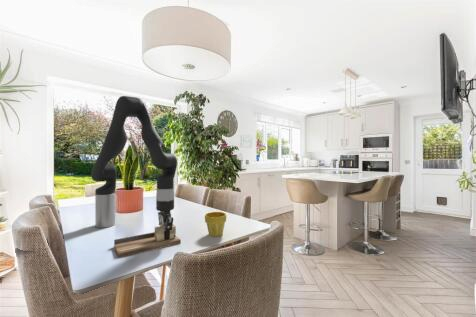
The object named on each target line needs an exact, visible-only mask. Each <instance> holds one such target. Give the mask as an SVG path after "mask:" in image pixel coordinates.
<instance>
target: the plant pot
mask: <svg viewBox="0 0 476 317" xmlns="http://www.w3.org/2000/svg"><path fill="white" fill-rule="evenodd" d="M204 222H205V223H206V226H207V231H208V236H210V237H220V236H222V235H223V234H224V228H225V223H226V222H227V214H226V213H225V212H223V211H211V212H207V213H205V214H204Z"/></svg>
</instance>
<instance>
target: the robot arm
mask: <svg viewBox="0 0 476 317" xmlns="http://www.w3.org/2000/svg"><path fill="white" fill-rule="evenodd" d="M127 118H136V119H138V121H139V123H140V125H141V133H140V134H141V138H142V141H143V142H144V145H145V146H146V148H147V150H148V151H149V155H150V159H151V163H152V164H153V166H154V167H155V168H156V169H157V170H162V172H161V174H159V175H158V176H157V177H156V178H157V179H156V195H155V196H156V197H155V199H156V200H155V203H156V204H155V205H156V206H155V207H156V208H155V209H156V211H157V216H158V226H164V239H165V240H167V239H170V230H172V226H173V225H174V217H172V213H171V211H172V210H174V209H175V189H174V188H175V187H174V186H175V183H174V182H175V181H174V180H175V175H176V170H177V168H178V167H177V166H178V159H177V157H176V155H175V154H174V153H170V152H168V153H167V152H164V151H163V150H164V148H165V143H164V141H163V140H162V138H161V136H160V135H159V134H158V132H157V130H156V128H155V125H154V124H153V121H152V119H151V116H150V113H149V111H148V109H147V106H146V105H145V103H144V101H143V100H142V99H141V98H139V97H136V96H135V97H134V96H128V95H122V96H119V97H118V99H117V100H116V103H115V106H114V110H113V114H112V120H111V122H110V125H109V128H108V130H107V134H106V136H105V139H104V141H103V142H102V143H103V144H102V147H101V149H100V153H99V154H98V155H97V156H98V157H97V158H96V160H95V161H94V164H93V166H92V169H91V173H90V174H91V179H92V180H93V181H94V182H98V183H99V182H105V183H104V184H103V185H102V186H99V187H97V188H96V189H95V193H94V194H95V195H94V196H95V198H94V199H95V202H94V203H95V206H94V207H95V210H94V211H95V222H94V223H95V228H97V229H99V228H100V229H103V228H109V227H112V226H115V225H116V189H117V173H118V172H117V166H116V165H115V164H114V163H110V161H112V160H114V159H115V158H116V157H117V156H119V155H120V154H122V152H123V151H124V149H125V147H126V145H127V141H128V135H127V133H126V130H125V128H124V127H125V122H126V120H127Z"/></svg>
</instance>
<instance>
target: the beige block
mask: <svg viewBox="0 0 476 317" xmlns="http://www.w3.org/2000/svg"><path fill="white" fill-rule="evenodd" d="M176 228H177V226H176V225H174V224H173V226H172V230H170V239H172V238H176V236H177V234H176V233H177V232H176ZM154 232H155V240H156V241H162V240H165V239H164V226H160V225H158V226H154Z"/></svg>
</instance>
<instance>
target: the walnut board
mask: <svg viewBox="0 0 476 317" xmlns="http://www.w3.org/2000/svg"><path fill="white" fill-rule="evenodd" d="M181 241H182V240H181V239H180V238H179V237H178V236H177V235H176V238H172V239H167V240H162V241H156V240H155V231H154V232H148V233H143V234H138V235H133V236H132V235H131V236H125V237H122V238H116V239H114V240H113V242H114V243H113V248H114V249H115V252H117V253H116V255H117V257H118V258H123V257H127V256H132V255H136V253H137V254H141V253H144V252H148V251H153V250H157V249H161V248H166V247H170V246H174V245H175V246H176V245H178V244H181V243H182V242H181ZM140 252H141V253H140Z"/></svg>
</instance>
